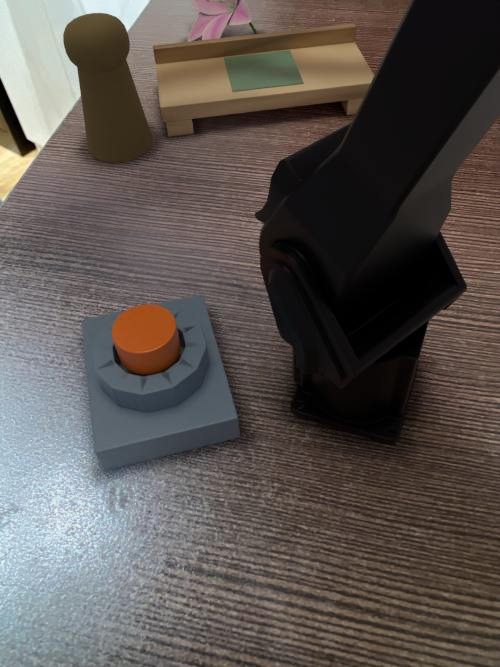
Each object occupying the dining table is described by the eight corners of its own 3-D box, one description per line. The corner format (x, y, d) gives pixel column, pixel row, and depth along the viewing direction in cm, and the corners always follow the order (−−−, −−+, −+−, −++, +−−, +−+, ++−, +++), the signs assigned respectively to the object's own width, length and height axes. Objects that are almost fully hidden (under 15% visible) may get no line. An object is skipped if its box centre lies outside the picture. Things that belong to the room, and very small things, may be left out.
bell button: (186, 367, 34) (181, 344, 32) (122, 381, 34) (115, 359, 32) (175, 321, 36) (170, 298, 35) (115, 334, 36) (108, 311, 34)
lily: (197, 25, 73) (154, -40, 65) (286, -19, 69) (252, -95, 61) (206, 101, 69) (160, 41, 61) (301, 59, 65) (267, -12, 57)
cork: (141, 165, 53) (114, 38, 45) (77, 159, 54) (39, 35, 46) (161, 128, 57) (140, 4, 48) (101, 123, 58) (70, 2, 49)
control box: (240, 438, 35) (236, 399, 32) (103, 472, 34) (86, 436, 31) (205, 315, 41) (199, 273, 38) (89, 340, 40) (73, 300, 37)
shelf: (374, 112, 57) (380, 65, 54) (165, 137, 56) (157, 91, 52) (350, 67, 63) (354, 23, 59) (160, 89, 62) (152, 45, 58)
